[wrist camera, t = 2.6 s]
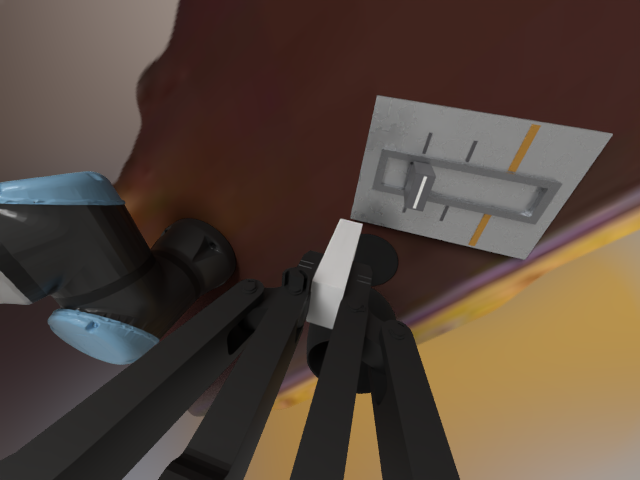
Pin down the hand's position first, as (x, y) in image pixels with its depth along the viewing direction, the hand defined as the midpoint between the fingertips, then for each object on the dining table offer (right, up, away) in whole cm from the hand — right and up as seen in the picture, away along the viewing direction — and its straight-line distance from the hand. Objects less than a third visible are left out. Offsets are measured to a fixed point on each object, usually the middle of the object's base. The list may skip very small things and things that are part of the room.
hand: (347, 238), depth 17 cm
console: (+16, +8, +16) cm, 24 cm away
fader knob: (+10, +8, +15) cm, 20 cm away
